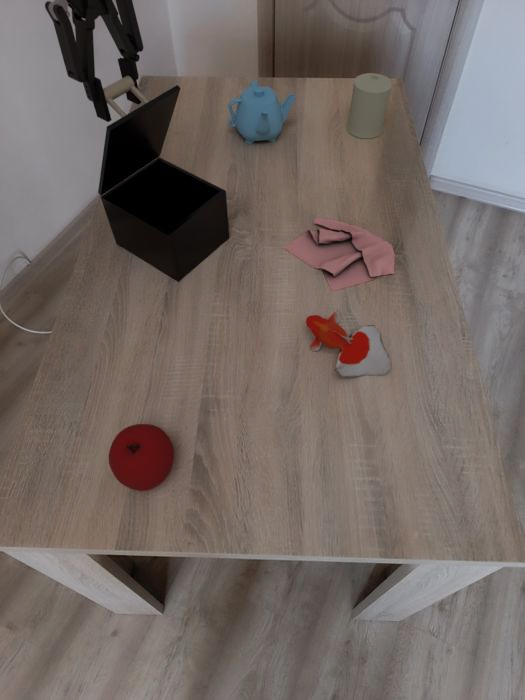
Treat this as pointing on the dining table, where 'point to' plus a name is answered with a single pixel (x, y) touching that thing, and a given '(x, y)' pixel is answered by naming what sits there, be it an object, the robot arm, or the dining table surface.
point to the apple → (141, 456)
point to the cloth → (344, 253)
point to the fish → (351, 346)
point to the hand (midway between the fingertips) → (119, 109)
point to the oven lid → (134, 133)
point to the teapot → (259, 113)
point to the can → (369, 105)
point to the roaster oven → (168, 217)
